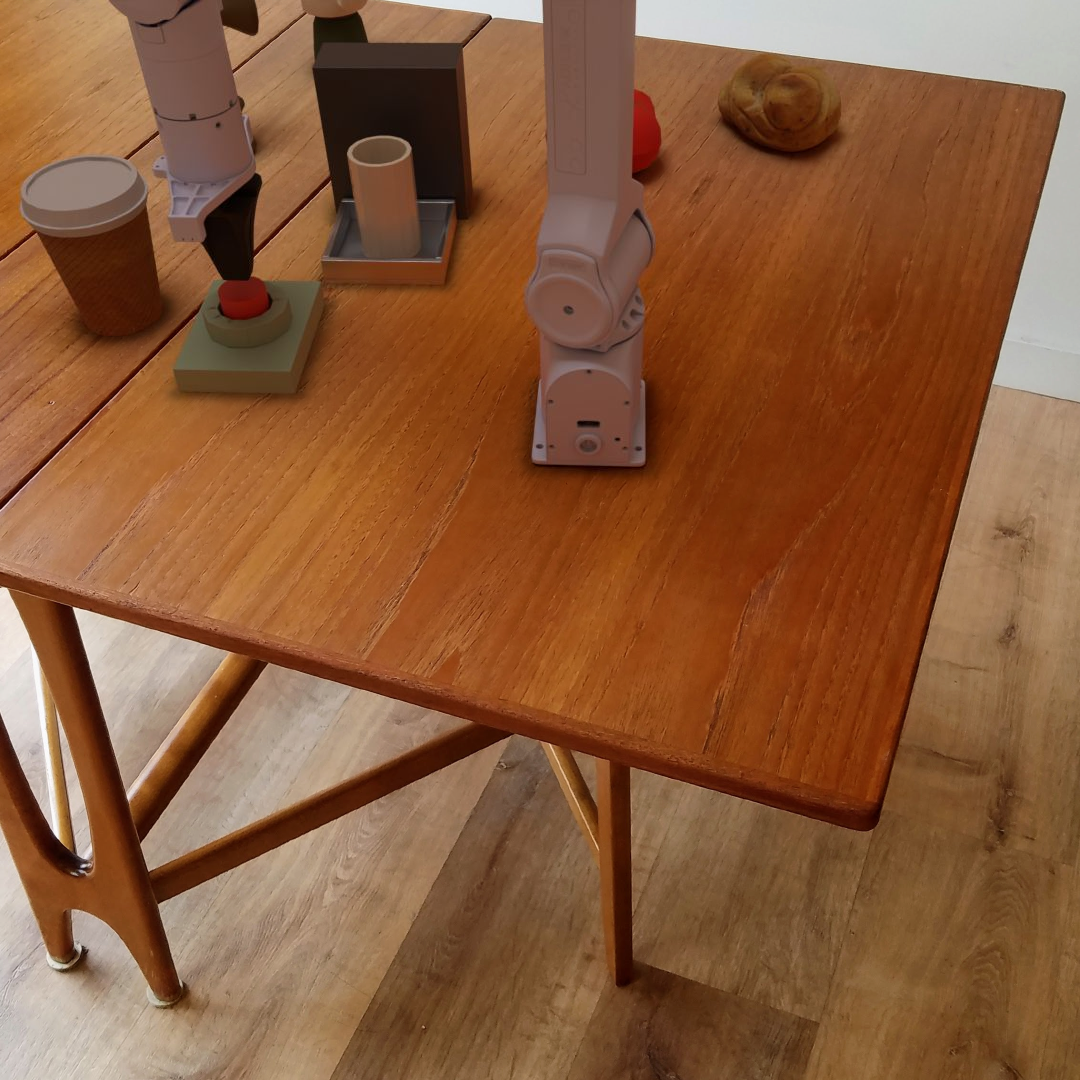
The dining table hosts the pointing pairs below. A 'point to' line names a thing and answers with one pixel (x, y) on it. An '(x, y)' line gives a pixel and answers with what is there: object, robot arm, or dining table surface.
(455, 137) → the coffee machine
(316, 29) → the character mug
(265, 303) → the button
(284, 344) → the switch block
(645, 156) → the tomato
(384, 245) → the beige hollow cylinder
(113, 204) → the disposable coffee cup
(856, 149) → the dining table surface
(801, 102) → the bread roll
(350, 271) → the pan
